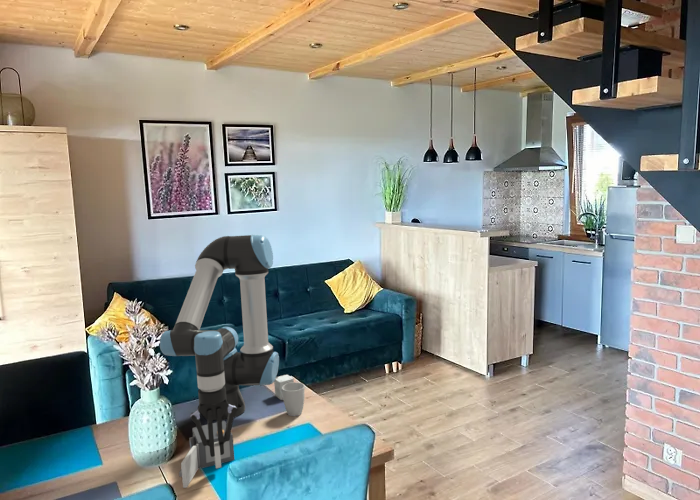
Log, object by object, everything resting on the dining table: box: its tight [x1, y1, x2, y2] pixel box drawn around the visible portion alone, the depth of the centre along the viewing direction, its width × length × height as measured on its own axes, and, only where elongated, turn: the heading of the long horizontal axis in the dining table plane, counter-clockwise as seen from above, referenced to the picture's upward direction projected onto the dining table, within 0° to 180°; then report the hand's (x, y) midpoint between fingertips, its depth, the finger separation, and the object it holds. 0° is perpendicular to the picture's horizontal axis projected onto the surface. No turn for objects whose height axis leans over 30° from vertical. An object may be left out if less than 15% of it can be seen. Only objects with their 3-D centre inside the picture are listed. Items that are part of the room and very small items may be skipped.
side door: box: [178, 444, 201, 488], centre depth 146 cm, size 2×11×7 cm, turn 178°
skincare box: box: [273, 374, 295, 401], centre depth 203 cm, size 6×6×7 cm
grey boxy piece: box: [188, 420, 235, 470], centre depth 158 cm, size 11×12×9 cm
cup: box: [282, 381, 306, 417], centre depth 187 cm, size 8×8×10 cm
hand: (218, 465), depth 149 cm, fingers closed
